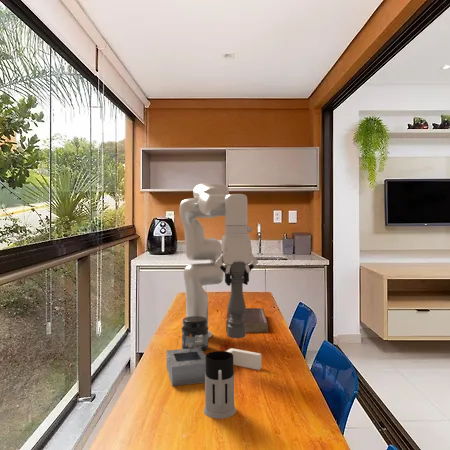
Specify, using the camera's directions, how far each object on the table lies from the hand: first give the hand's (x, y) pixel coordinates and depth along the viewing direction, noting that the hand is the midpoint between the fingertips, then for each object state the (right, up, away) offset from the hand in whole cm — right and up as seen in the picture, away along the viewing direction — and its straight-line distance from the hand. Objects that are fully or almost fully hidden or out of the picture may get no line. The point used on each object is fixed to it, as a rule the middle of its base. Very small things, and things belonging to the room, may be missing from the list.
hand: (236, 284), depth 139 cm
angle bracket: (-1, -29, +4) cm, 30 cm away
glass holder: (-5, -30, -30) cm, 43 cm away
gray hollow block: (-17, -30, -2) cm, 34 cm away
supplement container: (-16, -29, +24) cm, 41 cm away
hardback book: (+6, -29, +61) cm, 67 cm away
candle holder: (0, -18, 0) cm, 18 cm away
